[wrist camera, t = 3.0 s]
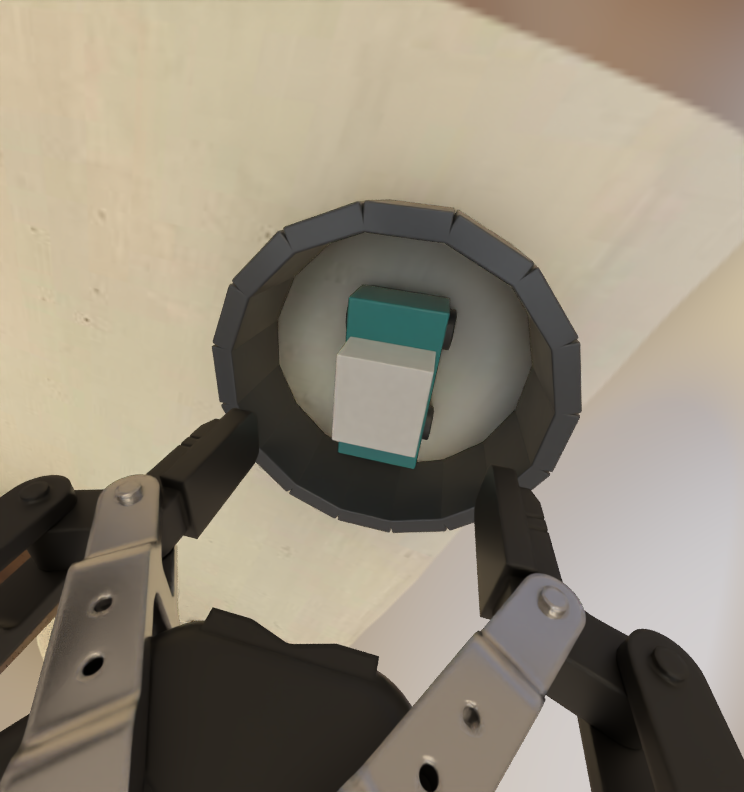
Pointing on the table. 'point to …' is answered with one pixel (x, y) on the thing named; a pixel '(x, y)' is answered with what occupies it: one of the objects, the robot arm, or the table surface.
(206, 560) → the table surface
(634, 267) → the table surface
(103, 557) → the robot arm
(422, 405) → the toy car
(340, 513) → the segmented grey ring
